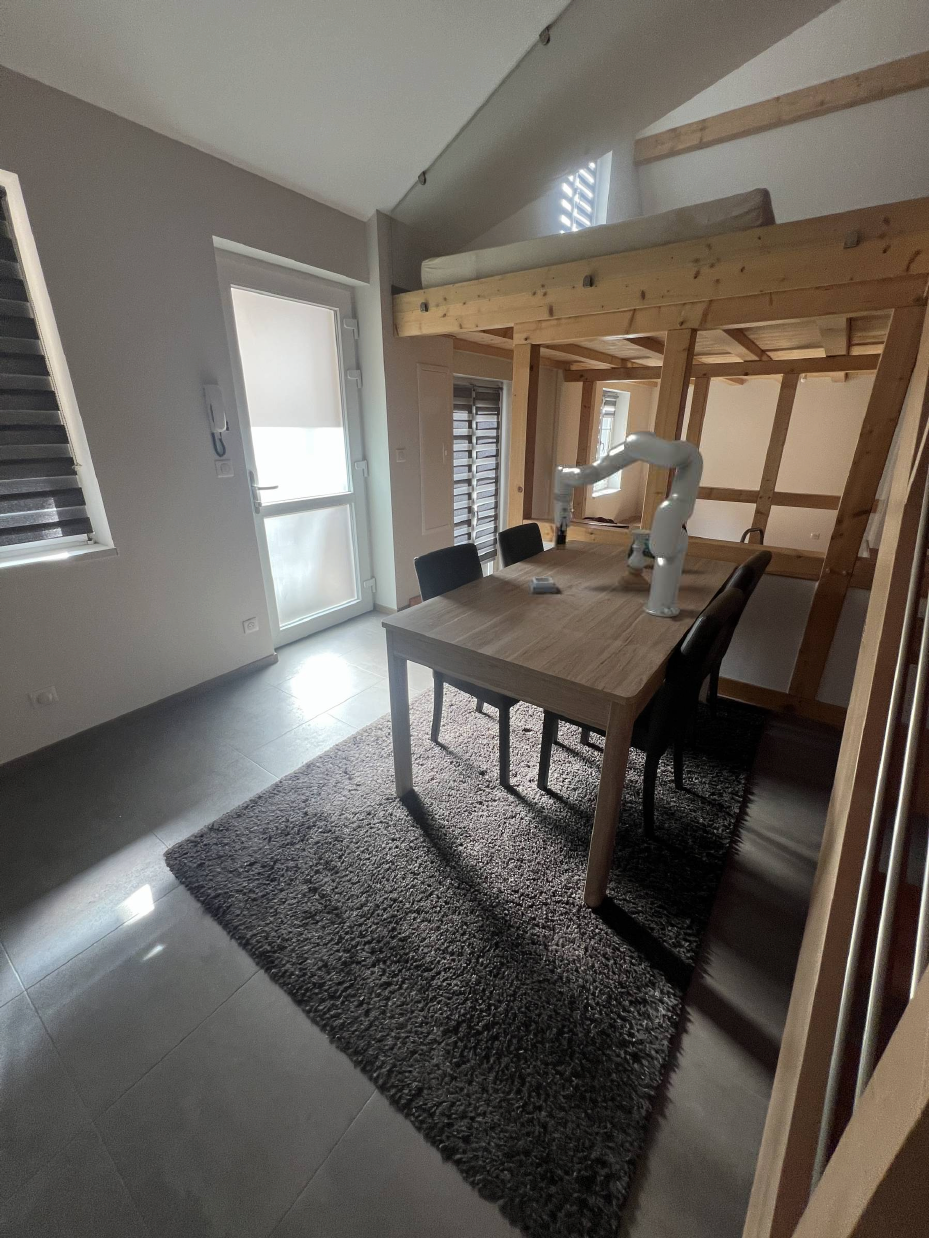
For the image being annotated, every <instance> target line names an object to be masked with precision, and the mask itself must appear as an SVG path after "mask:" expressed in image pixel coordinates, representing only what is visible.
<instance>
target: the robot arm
mask: <svg viewBox="0 0 929 1238" xmlns="http://www.w3.org/2000/svg"><path fill="white" fill-rule="evenodd" d="M639 461H640V462H643V463H646V464H649V465H652V466H653V467H654V466H655V467H658V468H661V469H665V470H666V469H668V470H669V469H673V468H674V469H675V468H676V469H675V475H674V477H673V478H672V479H673V480H672V483H671V488H670V492H669V495H668V498H665V499H664V500H662V501H661V502H660V503H659V505H658V506H657V508H656V510H655V513H654V516H653V522H652V525H651V529H650V530H651V534H650V538H649V549H650V551H651V553H652V554H653V555H654V556H655V557H656V558H655V560H654V564H653V571H652V575H651V576H652V577H651V583H650V584H651V585H650V590H649V597H648V603H645V604H644V605H643V607H642V608H643V609H642V610H643V611H644V612H645V613H647V614H650V615H653V616H655V617H661V618H662V617H665V618H671V617H676V616H678V615H679V614H680V609H679V607H677V600H678V596H679V591H680V590H679V589H680V583H681V579H682V577H681V576H682V573H683V566H684V561H685V557H686V554H687V551H688V545H689V535H688V533H687V531H686V530H685V529H684V528H683V525H684V523H686V522H687V521H688V520H690V519H691V517H692V516H693V514H694V510H695V505H696V501H697V497H698V494H699V488H700V484H701V480H702V475H703V472H704V458H703V455H702V452H701V450H699V448H698V447H697V446H695V444H693V443H691V442H690V441H688V440H687V441H686V440H683V439H682V440H681V439H680V440H678V439H677V440H668V439H663V438H661V437H658V436H657V435H656V433H654V432H653V431H650V430H638V431H633V432H631V433H630V434H629V435H628V436H627V437H626V438H625V440H623V441H622V442H620V443H618V444H616V445H614V446H613V447H611V448H609V450H608V451H607V454H606V455H605V456H604V457H602V458H600V459H598V460H597V461H594V462H592V463H591V464H587V465H579V466H573V465H570V464H569V465H567V464H561V465H558V466H556V468H555V473H554V489H553V492H554V493H553V502H554V503H555V508H554V510H555V511H554V524H555V526H556V525H557V526H558V527H559V532H558V536H557V544H565V537H566V538H567V536H566V523H567V528H570V527H571V515H572V513H571V512H572V511H571V509H572V505H571V503H573V501H574V500H573V499H574V489H575V487H578V488H581V487H585V486H586V487H587V486H591V485H594V484H596V483H599V482H601V481H603V480H606V479H607V478H609V477H611V476H613V475H614V474H616V473H618V472H620V471H621V470H623V469H626V468H627V467H629V466H631V465H633V464H635V463H637V462H639ZM560 525H562V527H560ZM560 528H562V529H561V530H560Z"/></svg>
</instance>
